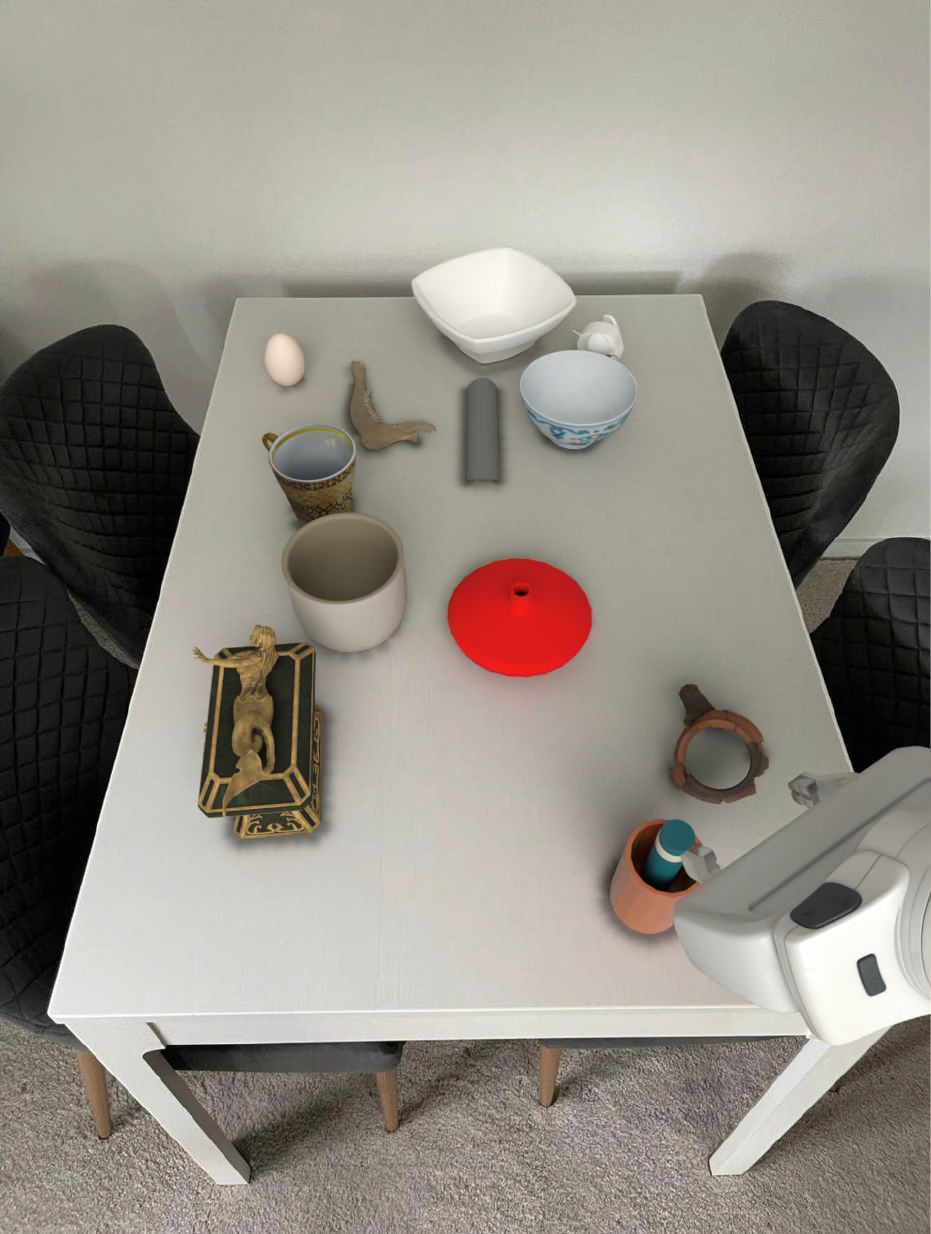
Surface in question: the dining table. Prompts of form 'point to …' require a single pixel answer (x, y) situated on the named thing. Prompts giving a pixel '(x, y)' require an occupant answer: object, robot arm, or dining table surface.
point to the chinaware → (577, 396)
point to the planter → (346, 580)
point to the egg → (284, 359)
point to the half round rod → (482, 431)
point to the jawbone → (369, 422)
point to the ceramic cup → (314, 469)
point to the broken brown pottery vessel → (706, 717)
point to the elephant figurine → (602, 338)
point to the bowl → (493, 301)
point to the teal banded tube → (667, 854)
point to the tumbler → (645, 885)
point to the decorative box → (263, 738)
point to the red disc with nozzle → (519, 617)
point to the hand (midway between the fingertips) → (745, 821)
